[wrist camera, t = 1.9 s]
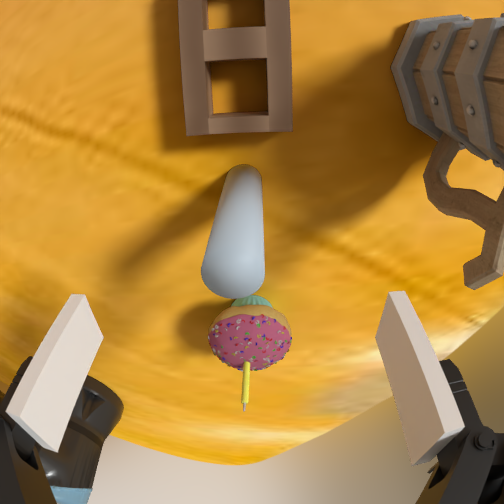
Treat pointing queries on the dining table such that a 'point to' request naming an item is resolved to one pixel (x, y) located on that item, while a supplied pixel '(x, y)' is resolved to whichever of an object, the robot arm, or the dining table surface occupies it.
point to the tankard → (458, 118)
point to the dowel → (237, 237)
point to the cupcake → (250, 337)
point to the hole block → (235, 49)
